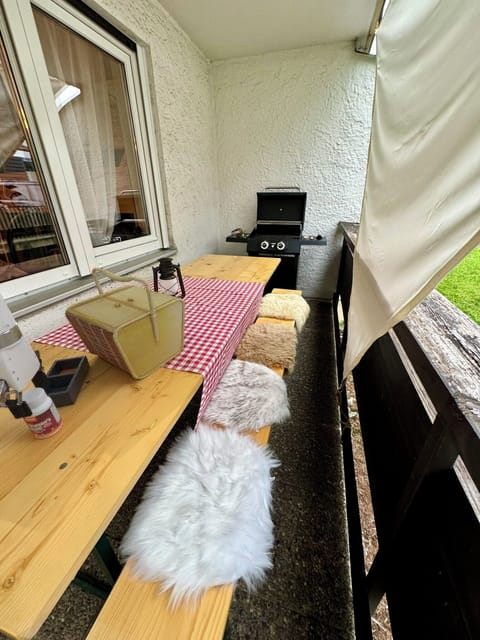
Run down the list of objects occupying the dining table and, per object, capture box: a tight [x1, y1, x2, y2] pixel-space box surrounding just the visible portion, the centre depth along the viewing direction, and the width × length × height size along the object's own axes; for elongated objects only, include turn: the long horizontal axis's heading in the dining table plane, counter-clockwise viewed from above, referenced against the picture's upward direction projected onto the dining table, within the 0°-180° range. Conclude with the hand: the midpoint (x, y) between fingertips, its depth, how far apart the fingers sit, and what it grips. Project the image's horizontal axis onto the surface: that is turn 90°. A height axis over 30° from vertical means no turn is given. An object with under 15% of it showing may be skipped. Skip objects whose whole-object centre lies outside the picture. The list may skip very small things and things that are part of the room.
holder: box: [41, 354, 91, 409], centre depth 77 cm, size 9×17×5 cm, turn 14°
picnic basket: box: [64, 267, 186, 380], centre depth 84 cm, size 29×26×30 cm
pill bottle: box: [22, 387, 64, 440], centre depth 62 cm, size 6×6×11 cm
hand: (34, 400), depth 60 cm, fingers open, 9 cm apart
